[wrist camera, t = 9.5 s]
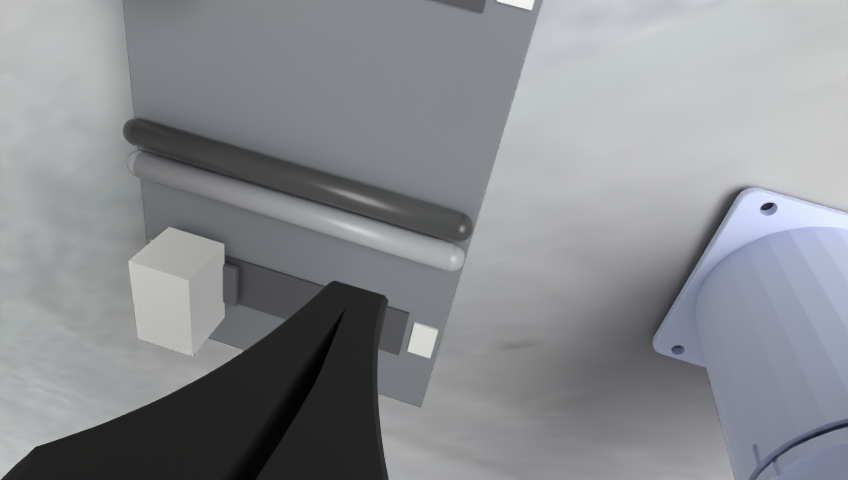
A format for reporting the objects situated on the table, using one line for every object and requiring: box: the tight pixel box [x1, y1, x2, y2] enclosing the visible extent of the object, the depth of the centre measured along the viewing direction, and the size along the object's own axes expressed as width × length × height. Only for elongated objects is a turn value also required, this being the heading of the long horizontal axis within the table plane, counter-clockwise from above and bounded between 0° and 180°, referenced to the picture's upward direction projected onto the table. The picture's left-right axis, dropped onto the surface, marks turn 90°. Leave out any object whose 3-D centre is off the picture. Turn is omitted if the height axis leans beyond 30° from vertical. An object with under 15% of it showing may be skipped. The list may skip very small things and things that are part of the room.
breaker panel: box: [123, 0, 543, 407], centre depth 20 cm, size 13×24×4 cm, turn 168°
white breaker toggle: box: [128, 227, 239, 357], centre depth 23 cm, size 4×4×2 cm
